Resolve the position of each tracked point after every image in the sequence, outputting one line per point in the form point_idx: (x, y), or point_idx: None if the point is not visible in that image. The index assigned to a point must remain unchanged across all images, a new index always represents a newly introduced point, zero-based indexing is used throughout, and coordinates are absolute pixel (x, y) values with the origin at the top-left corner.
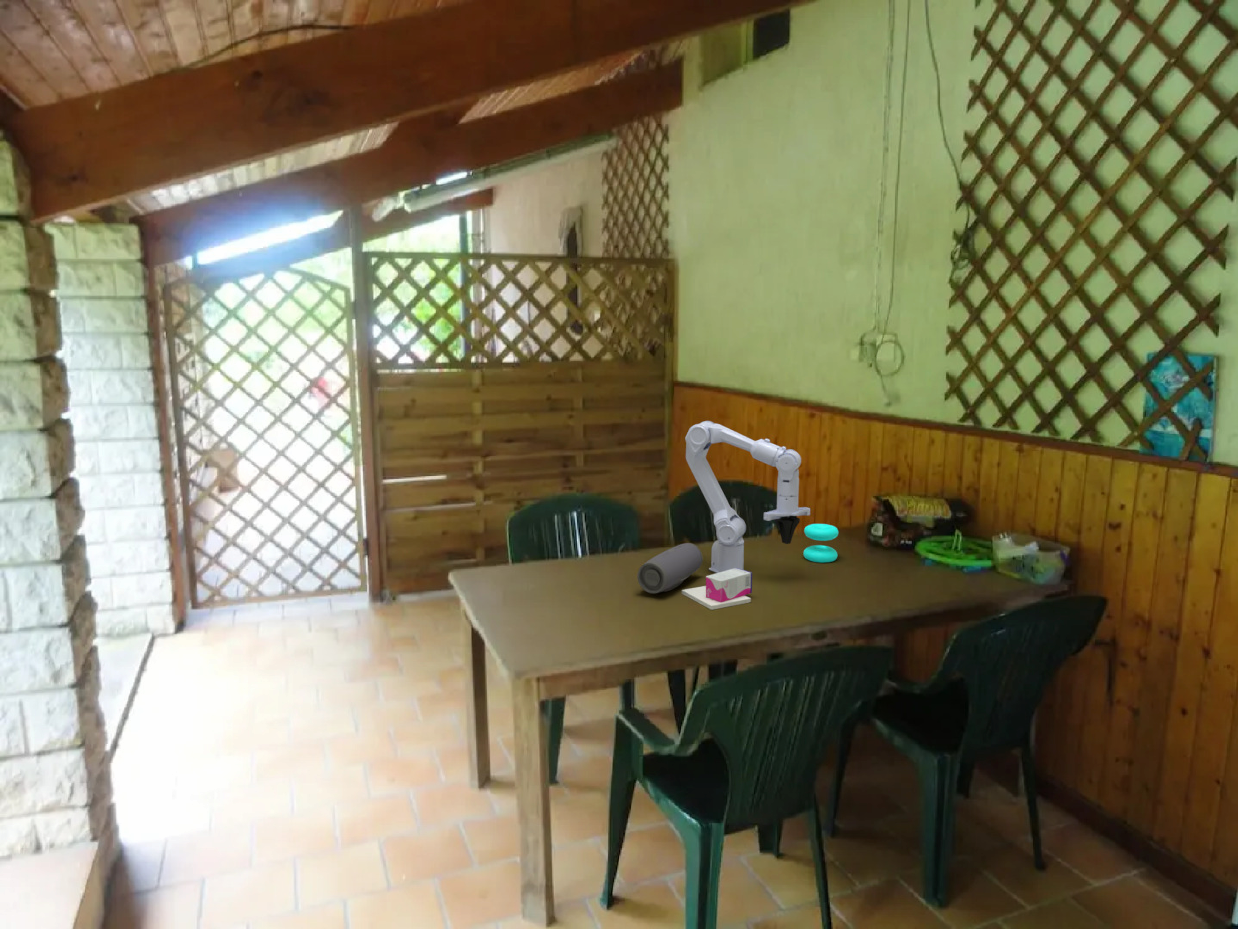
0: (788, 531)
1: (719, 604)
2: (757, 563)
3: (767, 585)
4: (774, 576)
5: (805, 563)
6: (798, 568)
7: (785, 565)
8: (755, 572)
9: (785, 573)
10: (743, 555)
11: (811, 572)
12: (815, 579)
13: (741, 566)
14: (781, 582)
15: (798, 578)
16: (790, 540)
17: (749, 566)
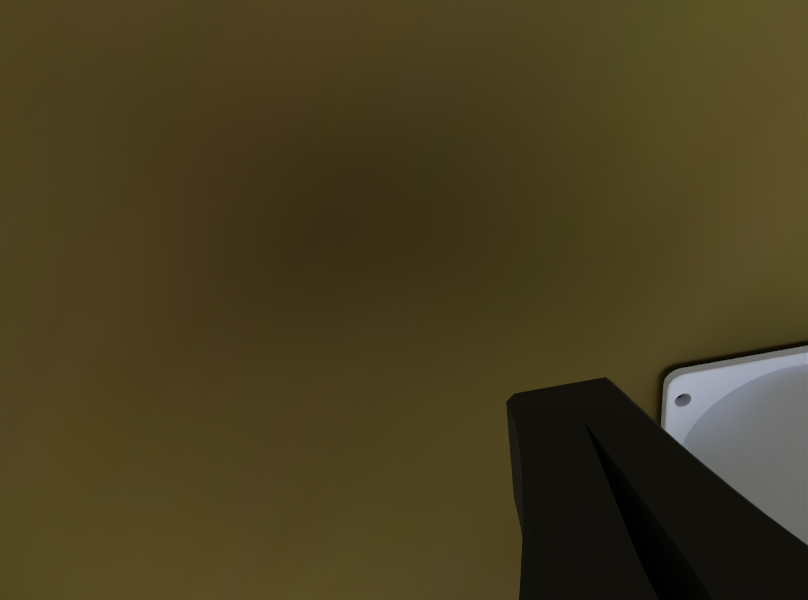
0: (782, 590)
1: None
2: (421, 581)
3: (744, 28)
4: (488, 273)
5: (5, 517)
6: (134, 418)
7: (219, 506)
8: None
9: (334, 324)
10: (798, 526)
11: (45, 285)
12: (95, 46)
13: (786, 424)
14: (541, 75)
15: (283, 144)
16: (547, 426)
17: None
